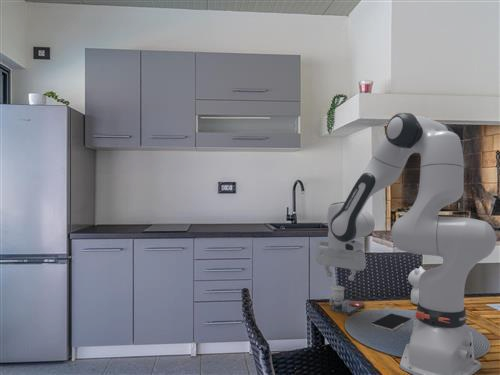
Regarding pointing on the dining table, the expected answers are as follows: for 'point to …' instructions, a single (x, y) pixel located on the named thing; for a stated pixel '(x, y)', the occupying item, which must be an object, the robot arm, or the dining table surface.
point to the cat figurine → (415, 284)
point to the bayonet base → (346, 306)
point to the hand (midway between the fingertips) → (340, 278)
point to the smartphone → (391, 322)
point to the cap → (338, 293)
